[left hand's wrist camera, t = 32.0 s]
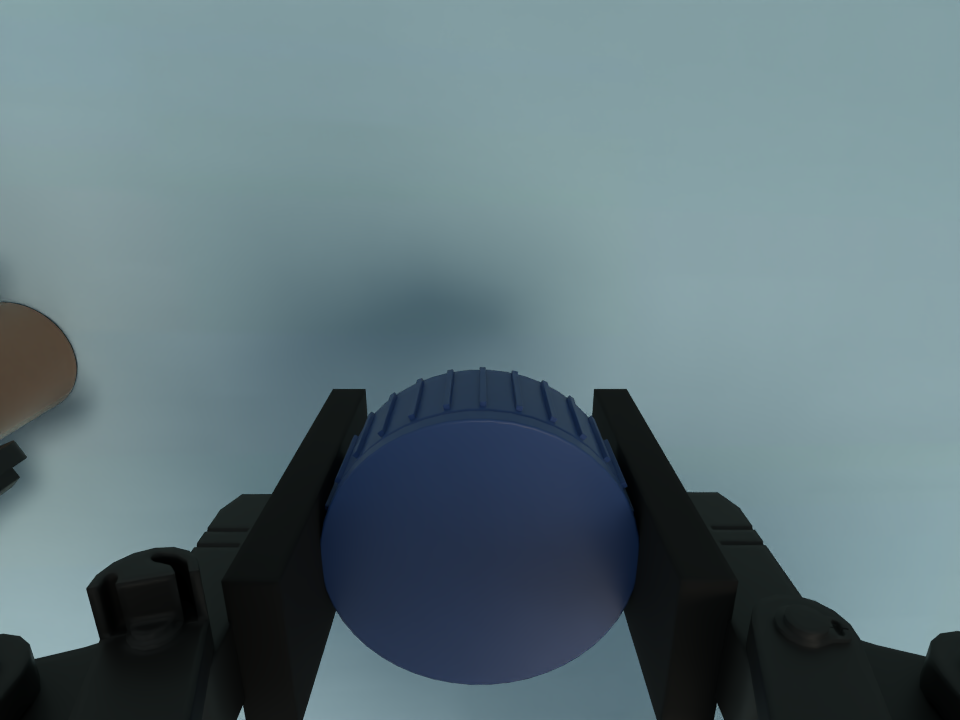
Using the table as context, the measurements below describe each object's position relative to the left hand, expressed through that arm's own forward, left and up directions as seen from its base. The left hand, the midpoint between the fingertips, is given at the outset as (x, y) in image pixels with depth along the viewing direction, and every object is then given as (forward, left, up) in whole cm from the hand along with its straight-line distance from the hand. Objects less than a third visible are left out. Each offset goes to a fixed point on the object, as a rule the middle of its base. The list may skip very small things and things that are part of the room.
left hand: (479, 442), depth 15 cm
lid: (0, 0, +4) cm, 4 cm away
